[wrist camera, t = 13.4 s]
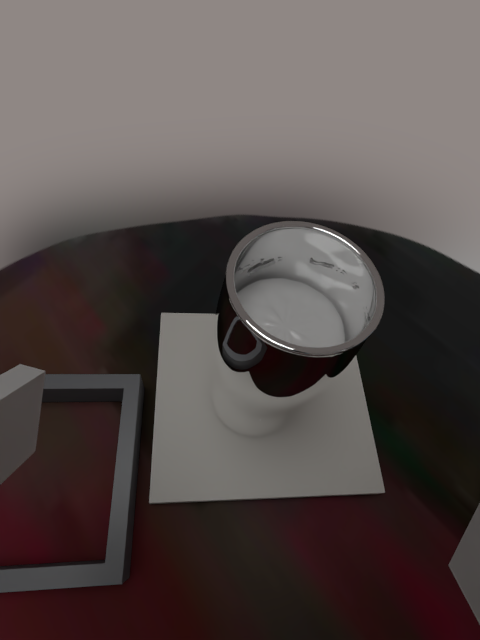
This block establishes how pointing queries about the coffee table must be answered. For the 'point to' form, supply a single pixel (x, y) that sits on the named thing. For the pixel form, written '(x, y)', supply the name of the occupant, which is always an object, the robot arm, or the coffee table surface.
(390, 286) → the coffee table surface
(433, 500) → the coffee table surface
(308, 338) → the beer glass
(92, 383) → the holder
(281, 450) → the board
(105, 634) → the coffee table surface
